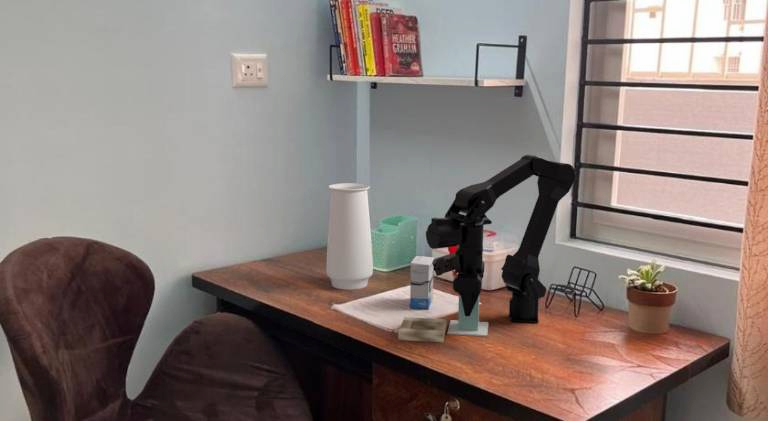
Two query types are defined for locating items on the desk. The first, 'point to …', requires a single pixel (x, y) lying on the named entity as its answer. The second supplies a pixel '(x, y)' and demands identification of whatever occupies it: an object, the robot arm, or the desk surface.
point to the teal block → (468, 317)
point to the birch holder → (415, 326)
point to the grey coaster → (454, 330)
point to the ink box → (421, 282)
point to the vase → (349, 237)
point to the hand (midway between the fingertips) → (468, 309)
